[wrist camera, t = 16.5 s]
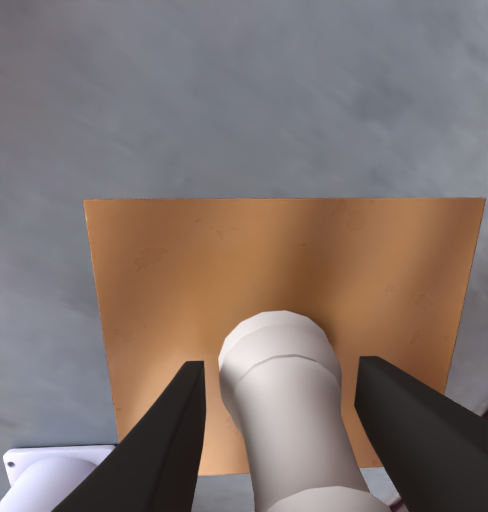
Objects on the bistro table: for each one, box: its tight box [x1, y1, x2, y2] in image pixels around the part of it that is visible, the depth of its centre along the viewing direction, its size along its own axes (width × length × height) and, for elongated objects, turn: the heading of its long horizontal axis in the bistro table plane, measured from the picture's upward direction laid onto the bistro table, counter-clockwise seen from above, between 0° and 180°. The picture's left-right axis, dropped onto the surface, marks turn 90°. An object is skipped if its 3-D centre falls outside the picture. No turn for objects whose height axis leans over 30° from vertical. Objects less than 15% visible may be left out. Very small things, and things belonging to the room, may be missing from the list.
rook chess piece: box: [218, 310, 391, 512], centre depth 6 cm, size 4×4×8 cm
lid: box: [83, 198, 486, 476], centre depth 10 cm, size 14×12×1 cm
